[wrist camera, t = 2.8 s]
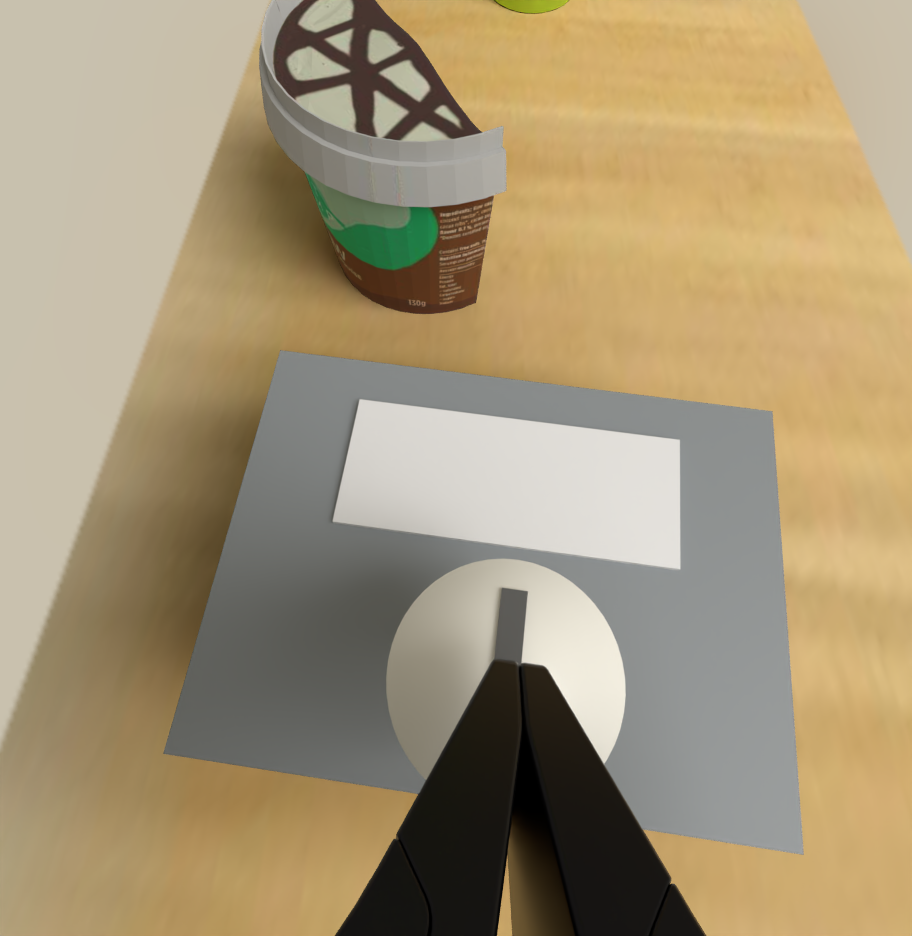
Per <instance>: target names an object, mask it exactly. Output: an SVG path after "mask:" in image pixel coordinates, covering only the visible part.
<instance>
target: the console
mask: <svg viewBox="0 0 912 936" xmlns="http://www.w3.org/2000/svg"><path fill="white" fill-rule="evenodd" d="M488 559H516V560H522V561H527V562H532V563H535V564H538V565H540V566H543V567H546V568H548V569H550V570H552V571H554V572H556V573H558V574H560V575H562V576H563V577H565V578H566V579H568V580H569V581H571V582H572V583H574V584H575V585H576V586H577V587H578V588H579V589H581V590H582V591H583V592H584V593H585V594H586V595H587V596H588V597H589V598H590V599H591V600H592V602H593V603H594V604H595V605H596V606H597V608H598V609H599V611H600V612H601V613H602V615H603V616H604V618H605V619H606V621H607V623H608V625H609V627H610V628H611V630H612V632H613V635H614V637H615V640H616V642H617V645H618V647H619V651H620V655H621V658H622V662H623V668H624V675H625V690H626V697H625V708H624V715H623V720H622V724H621V729H620V732H619V734H618V737H617V740H616V743H615V745H614V747H613V749H612V751H611V753H610V755H609V757H608V759H607V761H606V762H605V763H604V765H605V767H606V768H607V770H608V772H609V773H610V775H611V777H612V778H613V780H614V782H615V784H616V785H617V787H618V789H619V790H620V792H621V794H622V795H623V797H624V799H625V800H626V802H627V804H628V805H629V807H630V809H631V811H632V812H633V814H634V816H635V817H636V819H637V821H638V822H639V824H640V826H641V827H642V829H644V830H650V831H657V832H663V833H669V834H676V835H682V836H688V837H695V838H701V839H707V840H714V841H720V842H726V843H733V844H739V845H745V846H752V847H758V848H764V849H771V850H777V851H783V852H790V853H796V854H802V855H804V853H803V839H802V825H801V811H800V797H799V783H798V768H797V754H796V740H795V726H794V712H793V698H792V683H791V669H790V655H789V641H788V627H787V613H786V599H785V584H784V570H783V556H782V542H781V528H780V514H779V499H778V485H777V471H776V457H775V443H774V429H773V414H772V411H765V410H757V409H749V408H741V407H733V406H725V405H716V404H708V403H700V402H692V401H684V400H676V399H668V398H660V397H652V396H644V395H636V394H628V393H620V392H612V391H604V390H595V389H587V388H579V387H571V386H563V385H555V384H547V383H539V382H531V381H523V380H515V379H507V378H499V377H491V376H483V375H474V374H466V373H458V372H450V371H442V370H434V369H426V368H418V367H410V366H402V365H394V364H386V363H378V362H370V361H362V360H353V359H345V358H337V357H329V356H321V355H313V354H305V353H297V352H289V351H281V350H280V354H279V357H278V360H277V364H276V367H275V371H274V374H273V378H272V381H271V385H270V388H269V391H268V395H267V398H266V402H265V405H264V409H263V412H262V416H261V419H260V422H259V426H258V429H257V433H256V436H255V440H254V443H253V447H252V450H251V453H250V457H249V460H248V464H247V467H246V471H245V474H244V478H243V481H242V484H241V488H240V491H239V495H238V498H237V502H236V505H235V509H234V512H233V515H232V519H231V522H230V526H229V529H228V533H227V536H226V540H225V543H224V546H223V550H222V553H221V557H220V560H219V564H218V567H217V571H216V574H215V577H214V581H213V584H212V588H211V591H210V595H209V598H208V602H207V605H206V608H205V612H204V615H203V619H202V622H201V626H200V629H199V633H198V636H197V639H196V643H195V646H194V650H193V653H192V657H191V660H190V664H189V667H188V670H187V674H186V677H185V681H184V684H183V688H182V691H181V695H180V698H179V701H178V705H177V708H176V712H175V715H174V719H173V722H172V726H171V729H170V732H169V736H168V739H167V743H166V746H165V750H164V753H163V754H169V755H175V756H182V757H188V758H194V759H201V760H207V761H213V762H220V763H226V764H232V765H239V766H245V767H251V768H258V769H264V770H270V771H277V772H283V773H289V774H296V775H302V776H308V777H315V778H321V779H327V780H334V781H340V782H346V783H353V784H359V785H365V786H372V787H378V788H384V789H391V790H397V791H403V792H410V793H416V794H419V792H420V790H421V789H422V787H423V785H424V783H425V781H426V780H425V779H424V778H423V776H422V775H421V774H420V773H419V772H418V771H417V770H416V768H415V767H414V766H413V764H412V763H411V762H410V760H409V759H408V757H407V755H406V754H405V752H404V750H403V748H402V746H401V745H400V743H399V740H398V738H397V735H396V733H395V730H394V728H393V724H392V721H391V717H390V713H389V708H388V701H387V694H386V674H387V665H388V658H389V654H390V650H391V646H392V642H393V640H394V637H395V634H396V632H397V629H398V627H399V625H400V623H401V621H402V619H403V617H404V615H405V614H406V612H407V611H408V610H409V608H410V607H411V605H412V604H413V602H414V601H415V600H416V599H417V598H418V597H419V596H420V594H421V593H422V592H423V591H424V590H425V589H427V588H428V587H429V586H430V585H431V584H432V583H433V582H435V581H436V580H438V579H439V578H441V577H442V576H444V575H445V574H447V573H449V572H451V571H453V570H455V569H457V568H459V567H461V566H464V565H467V564H470V563H473V562H478V561H483V560H488Z"/></svg>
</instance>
